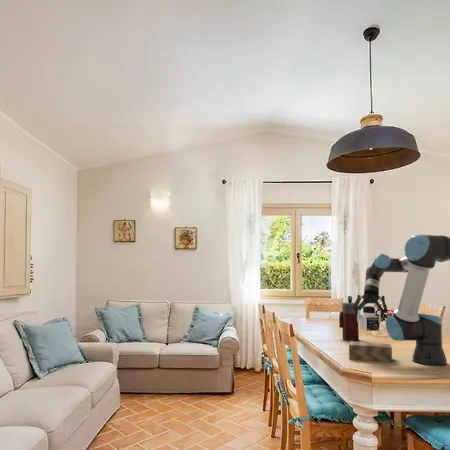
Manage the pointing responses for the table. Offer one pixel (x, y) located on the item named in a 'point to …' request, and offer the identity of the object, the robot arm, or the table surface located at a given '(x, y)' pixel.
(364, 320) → the medicine bottle
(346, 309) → the dark red tall piece
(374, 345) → the walnut box
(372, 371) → the table surface
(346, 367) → the table surface
